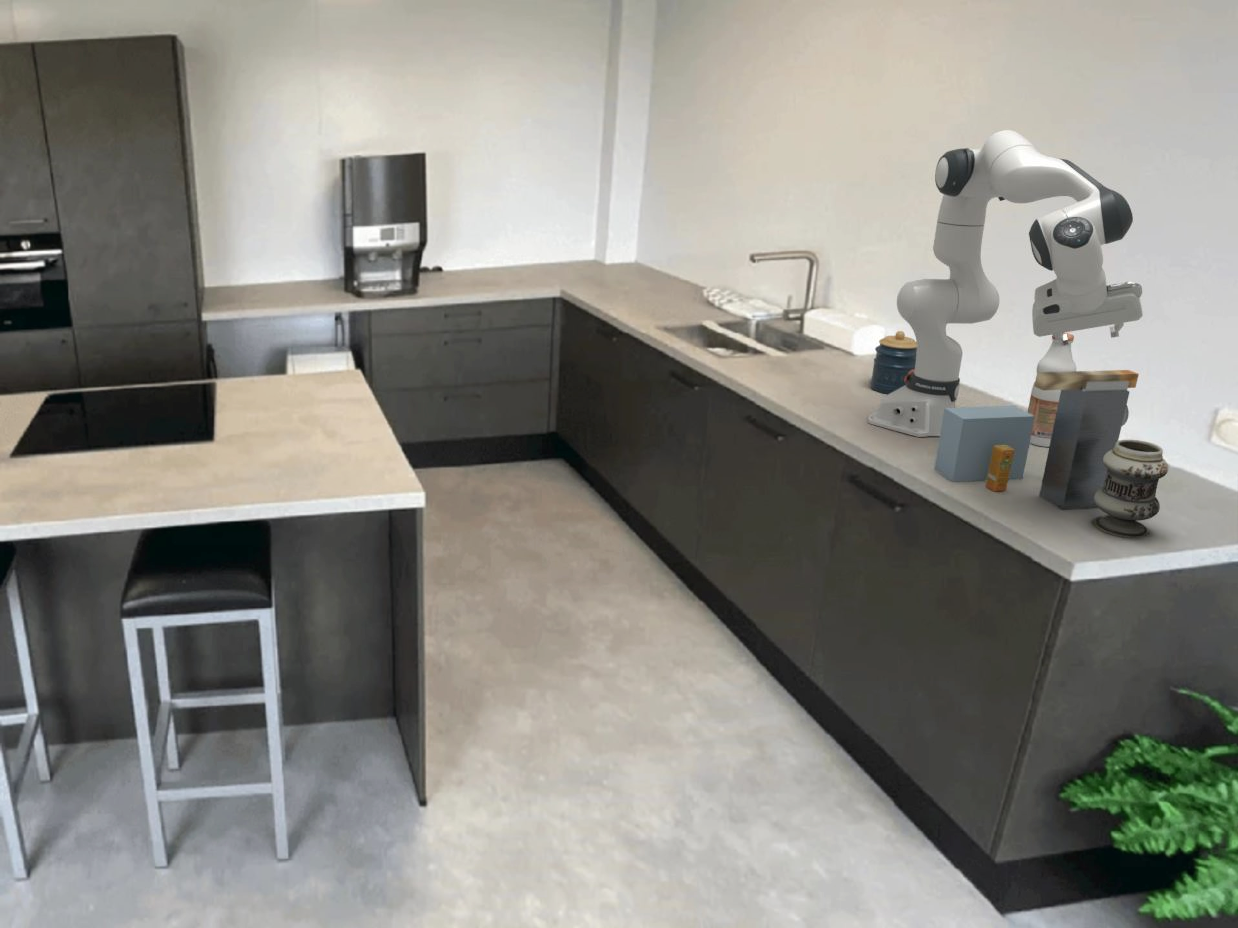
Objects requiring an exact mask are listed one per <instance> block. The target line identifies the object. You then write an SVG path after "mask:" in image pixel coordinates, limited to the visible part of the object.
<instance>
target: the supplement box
mask: <svg viewBox="0 0 1238 928" xmlns="http://www.w3.org/2000/svg"><path fill="white" fill-rule="evenodd" d="M1014 451H1015V450H1014V449H1013V448H1011V447H1010V446H1008V445H995V446H994V448H993V453H992V458H991V462H990V467H989V472H988V476H987V480H985V487H986V488H988V489H989V490H990V491H992V492H1001V491H1004V492H1005V491H1006V490H1007V486H1008V481H1009V479H1008V477H1009V473H1010V469H1011V464H1012V460H1013V456H1014Z"/></svg>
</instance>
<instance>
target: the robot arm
mask: <svg viewBox="0 0 1238 928" xmlns="http://www.w3.org/2000/svg"><path fill="white" fill-rule="evenodd" d="M984 142H985V143H983V146H982V148H968V147H967V148H956V149H952V150H949V151H946V152H944V154H942V155H941V156H940V158H939V160H938V161H937V164H936V167H935V175H934V178H935V179H934V180H935V181H934V182H935V186H936V188H937V190H938V191H939V193H941V194H943V195H942V199H941V203H940V206H939V210H938V215H937V221H936V227H935V231H934V240H933V246H932V251H933V254H934V257H935V258H936V259H937V260H938V261H939V262H940V263H942V264H944V265H946V266H947V267H948V268H949V278H947V279H943V278H942V279H940V278H935V279H934V278H924V279H918V280H917V279H916V280H912V281H908V282H906V283H904V284H903V285H902V286H901V288H900V290H899V292H898V294H897V297H896V309H897V311H898V314H899V315H900V317H902V319H903V320H904V321H906V322H907V324H909V326H910V327H911V329H912V331H913V333H914V336H915V340H916V341H915V342H917V353H916V363H915V370H914V369H913V370H911V371H909V372H908V374H907V375H906V377H905V379H904V382H905V386H903V387H901V388H899V389H897V390H895V391H893V392H891V393H890V394H885V396H884V397H883V398H882V400H881V402H880V404H879V405H878V409H876V410H874V411H872V412H871V413H870V414H869V415H868V418H867V422H868V423H869V424H870V425H874V426H877V427H880V428H885V429H889V430H892V431H895V432H900V433H903V434H907V435H910V436H913V437H917V438H918V437H919V438H925V437H940V432H941V426H942V420H943V414H944V408H956V401H957V399H958V396H959V390H960V385H961V384H960V382H961V381H960V380H961V379H960V377H959V375H960V371H961V367H962V366H961V365H962V360H963V349H962V346H961V344H960V343H959V342H958V341H957V340H955V339H954V338H952V337H950V336H949V335H947V325H948V324H964V325H965V324H967V325H968V324H976V323H981V322H986V321H990V320H991V319H992V318H993V317H994V316H995V315H996V314H997V311H998V309H999V306H1000V295H999V292H998V289H997V287H996V286H995V285H994V284H993V283H992V281H990V280H989V278H988V277H987V276H986V274H985V272H984V269H983V265H982V259H981V254H982V253H981V252H982V245H983V244H982V243H983V242H982V241H983V237H984V230H985V229H984V228H985V223H986V217H987V208H988V203H989V202H990V201H991V200H992V199H995V198H998V200H999V201H1000V202H1002V201H1008V202H1010V203H1014V204H1028V203H1034V202H1037V201H1041V200H1046V199H1049V198H1050V199H1051V198H1057V197H1070V198H1072V199H1073V200H1075V201H1076V202H1075V203H1072V204H1070V205H1068V206H1064V207H1062V208H1059V209H1056V210H1054V211H1051V212H1048V213H1046V214H1044V215H1042V216H1039V217H1037V218H1035V220H1034V222H1033V223H1032V224H1031V226H1030V228H1029V232H1028V237H1029V242H1030V243H1029V244H1030V247H1031V253H1032V255H1033V258H1034V260H1035V261H1036V263H1037V264H1038V265H1040V266H1041V267H1043V268H1044V269H1046V270H1048V271H1051V272H1054V274H1055V275H1056V276H1055V277H1056V278H1055V279H1054V280H1051V281H1049V282H1047V283H1044V284H1042V285H1040V286H1037V287H1036V288H1035V290H1034V302H1033V304H1032V330H1033V331H1032V332H1033V335H1034V336H1037V337H1039V338H1040V337H1045V336H1052V335H1053V337H1055V338H1056V339H1057V340H1059V341H1060V343H1061V346H1064V345H1069V343H1068V336H1067V334H1062V333H1069V332H1070V333H1071V332H1077V331H1083V330H1087V329H1088V330H1089V329H1095V328H1099V327H1107V326H1109V333H1110V338H1113V339H1114V338H1118V337H1120V335H1119V332H1120V331H1121V329H1122V328H1123V327H1124V323H1130V322H1136V321H1139V320H1140V319H1142V318H1143V308H1142V302H1141V299H1140V298H1141V297H1142V295H1143V287H1142V285H1141V284H1140V283H1138V282H1133V281H1126V282H1121V283H1114V284H1109V285H1108V284H1107V278H1106V272H1105V270H1104V268H1103V264H1104V255H1103V250H1102V246H1103V245H1107V244H1111V243H1114V242H1118V241H1122V240H1123V238H1125V236H1126V234H1127V233H1128V231H1130V228H1131V226H1132V224H1133V223H1134V222H1133V220H1134V218H1133V212H1132V209H1131V207H1130V205H1129V203H1128V201H1127V200H1126V198H1125V197H1124V196H1123V195H1122V194H1121V193H1120V192H1117V191H1115V190H1114V189H1111V188H1108V187H1106V186H1105V185H1103V184H1102V183H1101V182H1099V181H1098V180H1097V179H1095V178H1094V177H1093V176H1092V175H1090V174H1089V173H1088V172H1086V171H1085V170H1084V169H1082V168H1081V167H1080V166H1078V165H1077V164H1075V163H1074V162H1072V161H1070V160H1068V159H1065V158H1064V159H1063V158H1057V157H1050V156H1048V155H1045V154H1042V153H1041V152H1039V151H1038V150H1037V148H1036V146H1034V144H1032V143H1031V142H1030V140H1029V139H1028V138H1026V137H1025V136H1023V135H1022V134H1020V133H1019V132H1017V131H1015V130H1012V129H1003V130H1000V131H997V132H995V133H994V134H992V135H990V136H989V137H988V138H987V140H986V141H984ZM1112 325H1113V326H1112Z"/></svg>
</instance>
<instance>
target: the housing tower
mask: <svg viewBox="0 0 1238 928" xmlns="http://www.w3.org/2000/svg"><path fill="white" fill-rule="evenodd" d="M1128 385H1129V381H1127V380H1105V381H1084V383H1083V388H1082V389H1078V390H1061V393H1060V398H1059V403H1058V408H1057V412H1056V417H1055V422H1054V427H1053V432H1052V436H1051V441H1050V446H1049V447H1048V451H1047V457H1046V462H1045V466H1044V471H1043V477H1042V480H1041V485H1040V490H1039V497H1041V498H1043V499H1045V500H1046V501H1047V502H1049V503H1051V504H1053V505H1054V506H1055V507H1057V508H1059V509H1060V510H1061V511H1064V510H1077V509H1078V510H1080V509H1081V510H1082V509H1097V508H1098V506H1097V505H1096V503H1095V501H1094V496H1095V494H1096V492H1097V491H1098V490H1100V489H1101V488H1103V486H1104V483H1105V479H1106V474H1107V468H1106V467H1105V465H1104V463H1103V457H1104V455H1105V454H1106V453H1107V452H1109V451H1110V450H1113V449H1114V447H1115V444H1116V442H1117V441H1119V438H1120V434H1121V431H1122V427H1123V426H1125V425H1126V423H1127V421H1128V418H1129V413H1130V412H1129V407H1128V405H1127V404H1128V400H1129V397H1130V396H1129V395H1130V391H1129V390H1128V389H1129V388H1128ZM1098 509H1099V508H1098Z"/></svg>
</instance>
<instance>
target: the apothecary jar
mask: <svg viewBox="0 0 1238 928" xmlns="http://www.w3.org/2000/svg"><path fill="white" fill-rule="evenodd" d="M1163 452H1164V450H1163V448H1162V447H1161V446H1159V445H1158V444H1155V443H1152V442H1148V441H1145V440H1138V439H1120V440H1119V439H1118V441H1117V442H1116V444H1115V447H1114V449H1113V450H1110V451H1109V452H1107V453H1106V454H1105V455H1104V457H1103V463H1104V465H1105V467H1106V468H1107V474H1106V479H1105V483H1104V486H1103V488H1101V489H1100V490H1098V491H1097V492H1096V494H1095V496H1094V501H1095V503H1096V505H1097V506H1098V509H1099V510H1100V511H1101V512H1103V513H1104V514H1105V515H1106V516H1105V515H1104V516H1099V517H1097V518H1096V519H1095V520H1094V525H1095V526H1096V527H1097V529H1100V530H1101V531H1102V532H1105V533H1107V534H1109V535H1110V534H1111V535H1114V536H1117V537H1123V538H1133V539H1135V538H1143V537H1145V536H1146V535H1148V528H1147V527H1146V526H1145V525H1144V524H1143V523H1141V522H1139V521H1145V520H1149V519H1151V518H1153V517H1155V516H1156V515H1158V513H1159V512H1160V509H1161V505H1160V502H1159V499H1158V498H1157V497H1156V494H1157V488H1158V483H1159V481H1160V479H1162V478H1163V477H1165V476H1166V475H1167V474H1168V472H1169V465H1168V462H1167V461H1166V459H1164V455H1163V454H1164V453H1163Z"/></svg>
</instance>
